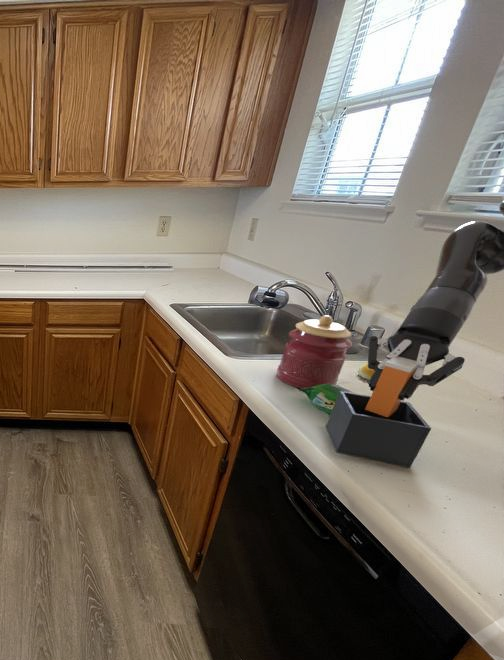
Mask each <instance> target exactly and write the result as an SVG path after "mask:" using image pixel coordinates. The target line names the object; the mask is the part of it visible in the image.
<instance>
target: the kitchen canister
mask: <svg viewBox="0 0 504 660" xmlns="http://www.w3.org/2000/svg"><path fill="white" fill-rule="evenodd" d="M288 336H289V340H288V342H286V343H285V345H284V350H283V352H282V353H283V354H282V356H281V360H280V362H279V364H278V366H277V370H276V371H277V372H276V376H277V378H278V379H279V380H280V381H282V382H284V383H286V384H287V385H289V386H292V387H295V388H298V389H299V388H300V389H302V388H310V387H314V386H316V385H322V384H334V385H337V384H338V381H339V377H340V374H341V371H342V369H343V366H344V363H345V362H346V360H347V359H348V355H347V351H348V349H350V348H352V346H353V343H352V341H351V340H350V339H349V338H350V337H351V336H352V332H351V331H350V330H349V329H347V328H346V326H345V325H342V324H341V323H338V322H334V320H333V317H332V316H331V315H328V314H327V315H326V314H325V315H321V317H320V318H319V319H313V318H312V319H305V320H304V321H300V322H298V323H296V324H295V329H292V330H290V331H289V332H288Z"/></svg>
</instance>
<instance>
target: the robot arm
mask: <svg viewBox="0 0 504 660" xmlns="http://www.w3.org/2000/svg"><path fill="white" fill-rule="evenodd" d="M498 209H499V212H500V213H501V214H502V216H504V200H502V201H501V203H500V204H499V206H498ZM438 257H439V258H438V261H437V267H436V270H435V276H434V278H433V279H432V280H431V282H430V284H429V285H428V286H427V288H426V290H425V292H424V293H423V294H422V295H421V296H420V297H419V298H418V299H417V301H416V302H415V303H414V304H413V305H412V307H410V311H409V313H408V314H407V316H406V317H405V318H404V320H403V322H402V323H401V324H400V326H399V327H398V329H397V330H396V332H395V333H394V334H392V335H390V336H389V337H388V338H379V337H377V336H376V335H372V336H369V340H368V356H367V363H368V368H369V369H373V370H375V372H374V374H373V375H372V377H371V379H370V380H368V388H369V391H371V392H373V391H374V389H375V387H376V384H377V382H378V380H379V378H380V376H381V373H382V371H383V369H384V367H385V364H386V362H387V361H389V360H390V359H392V358H393V357H398V356H399V357H403V358H407V359H410V360H414V361H416V363H419V365H418V366H417V368H416V369H415V371H414V372H413V376H412V378H410V379H409V380H408V382H407V383H406V385H405V386H404V388H403V389H402V391H401V392H400V393H399V395H398V399H399V400H401V401H403V402H404V400H405V399H406V400H409V399H410V398H411V397H413V395H414V393H415V391H416V390H417V388H418V387H419V386H421V385H425V386H428V387H433V386H436V385H437V384H440V383H441V382H442V381H444V380H445V379H447V378H449V377H450V376H452V375H453V374H455V373H457V372H458V371H459V370H461V369H462V368H463V366H464V363H465V358H464V357H463V356H455V355H453V354H452V353H450V349H449V348H450V346H451V344H452V343H453V341H454V340H455V339H456V337H457V336H458V334H459V332H460V330H461V329H462V328H463V326H464V325H465V323H466V321H468V318H469V317H470V315H471V313H472V311H473V308H474V306H475V304H476V303H477V301H478V299H479V298H480V297H481V295H482V294H483V292H484V291H485V289H486V287H487V285H488V282H489V278H488V275H494V274H498V273H500V272H503V271H504V230H502V229H501V228H499V227H497V226H495V225H494V224H492V223H490V222H487V221H483V220H475V221H474V220H473V221H470V222H467V223H464V224H462V225H460V226H459V227H457V228H455V229H454V230H453V231H452V232H451V233H450V234H449V235H448V236H447V237H446V239H445V241H444V242H443V244H442V246H441V249H440V253H439V256H438ZM384 346H387V347H388V350H389V353H388V355H386V357H385V358H384V359H383V360H382V361H378V359H377V357H378V351H381V350H383V348H384ZM442 360H444V361H443V362H442V366H440V367H439V368H437V369H435V370H434V371H433V372H431V373H430V374H424V371H425V367H426V366H428V365H431V364H434V363H437V362H439V361H442Z"/></svg>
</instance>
